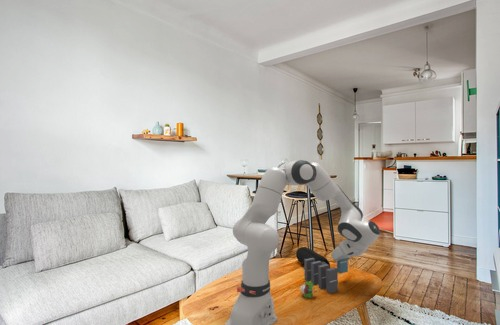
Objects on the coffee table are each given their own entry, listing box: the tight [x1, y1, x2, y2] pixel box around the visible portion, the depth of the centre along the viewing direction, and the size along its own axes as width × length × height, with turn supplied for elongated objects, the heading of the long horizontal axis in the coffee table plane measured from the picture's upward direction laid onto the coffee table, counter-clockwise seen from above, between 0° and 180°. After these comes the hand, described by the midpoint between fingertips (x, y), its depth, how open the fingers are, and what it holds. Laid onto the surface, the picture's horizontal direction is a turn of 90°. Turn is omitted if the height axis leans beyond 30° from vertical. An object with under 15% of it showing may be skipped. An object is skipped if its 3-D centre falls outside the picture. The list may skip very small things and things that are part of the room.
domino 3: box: [318, 264, 329, 290], centre depth 142 cm, size 2×6×11 cm, turn 118°
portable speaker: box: [295, 246, 331, 269], centre depth 169 cm, size 26×10×10 cm, turn 18°
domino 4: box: [325, 266, 339, 295], centre depth 138 cm, size 2×6×11 cm, turn 118°
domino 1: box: [303, 258, 315, 282], centre depth 152 cm, size 2×6×11 cm, turn 118°
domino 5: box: [336, 258, 349, 274], centre depth 148 cm, size 2×6×11 cm, turn 118°
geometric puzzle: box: [299, 280, 318, 299], centre depth 133 cm, size 7×7×8 cm
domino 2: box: [310, 261, 322, 286], centre depth 147 cm, size 2×6×11 cm, turn 118°
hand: (341, 259), depth 149 cm, fingers closed on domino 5, 6 cm apart
